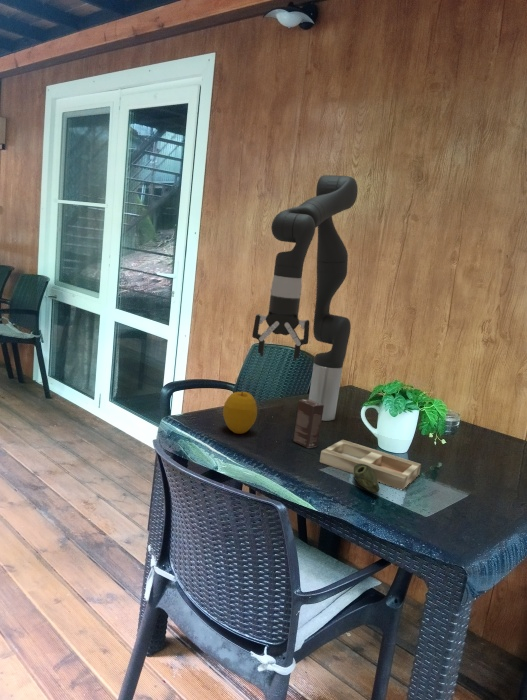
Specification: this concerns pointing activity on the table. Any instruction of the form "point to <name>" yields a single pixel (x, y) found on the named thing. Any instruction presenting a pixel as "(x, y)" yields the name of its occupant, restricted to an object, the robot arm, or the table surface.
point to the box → (308, 423)
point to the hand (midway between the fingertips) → (278, 357)
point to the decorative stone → (366, 477)
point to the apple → (240, 412)
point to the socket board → (371, 463)
